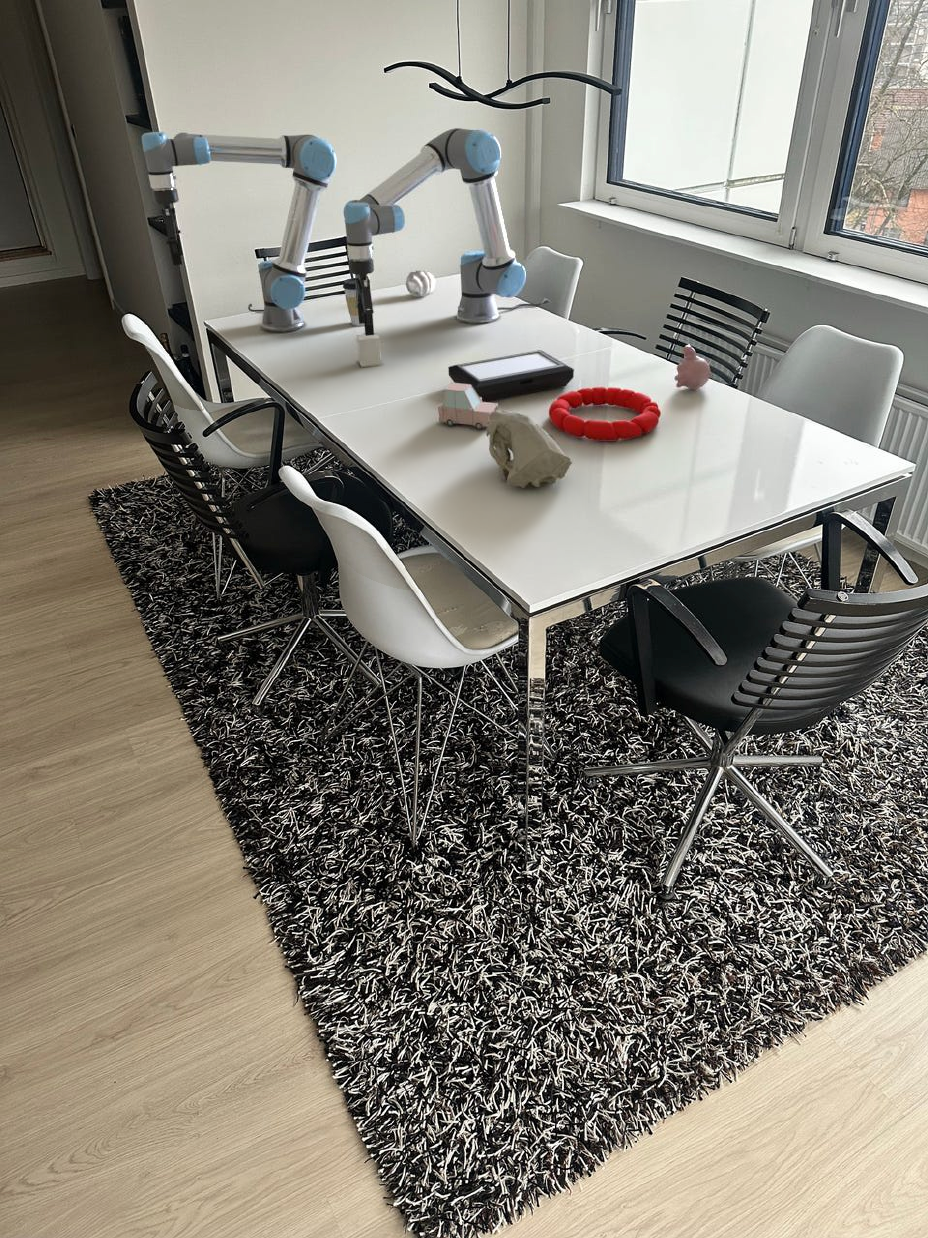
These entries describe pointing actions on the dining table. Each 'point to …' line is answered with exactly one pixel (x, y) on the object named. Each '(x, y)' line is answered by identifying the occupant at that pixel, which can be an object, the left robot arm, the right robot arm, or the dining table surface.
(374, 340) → the block
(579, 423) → the decorative ring
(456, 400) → the toy car
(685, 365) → the figurine
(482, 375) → the electronic device
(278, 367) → the dining table surface
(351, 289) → the coffee cup
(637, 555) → the dining table surface
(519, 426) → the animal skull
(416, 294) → the seashell
